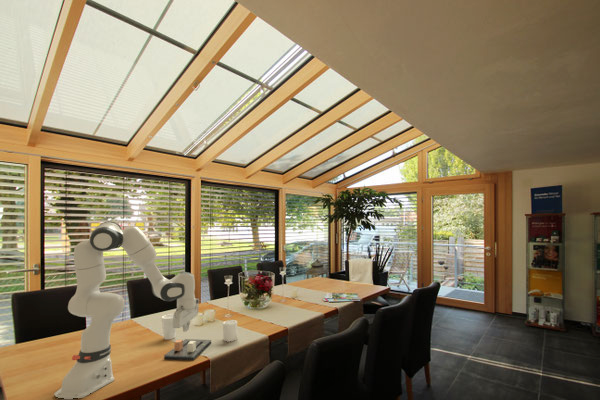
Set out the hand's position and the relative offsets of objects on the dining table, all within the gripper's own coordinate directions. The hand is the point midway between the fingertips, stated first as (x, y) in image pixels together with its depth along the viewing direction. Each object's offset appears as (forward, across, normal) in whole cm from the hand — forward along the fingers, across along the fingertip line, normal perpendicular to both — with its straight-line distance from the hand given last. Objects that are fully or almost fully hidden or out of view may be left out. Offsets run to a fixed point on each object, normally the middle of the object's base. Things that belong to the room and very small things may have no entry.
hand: (186, 330), depth 158 cm
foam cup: (+16, +29, +26) cm, 42 cm away
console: (+15, +11, +4) cm, 19 cm away
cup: (+16, +32, -12) cm, 37 cm away
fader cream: (+14, +6, 0) cm, 15 cm away
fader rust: (+14, +8, +8) cm, 18 cm away
